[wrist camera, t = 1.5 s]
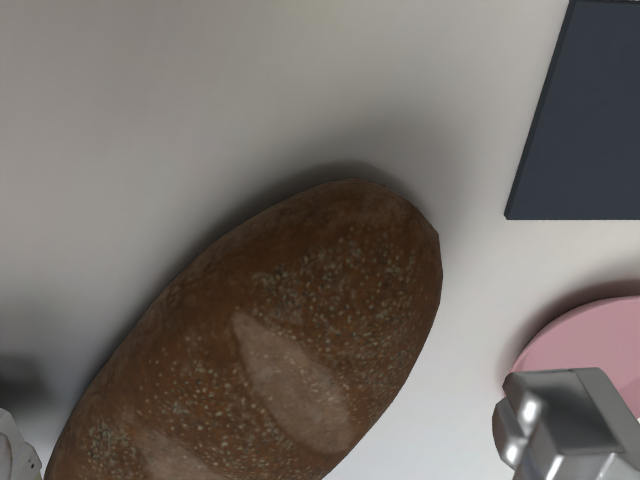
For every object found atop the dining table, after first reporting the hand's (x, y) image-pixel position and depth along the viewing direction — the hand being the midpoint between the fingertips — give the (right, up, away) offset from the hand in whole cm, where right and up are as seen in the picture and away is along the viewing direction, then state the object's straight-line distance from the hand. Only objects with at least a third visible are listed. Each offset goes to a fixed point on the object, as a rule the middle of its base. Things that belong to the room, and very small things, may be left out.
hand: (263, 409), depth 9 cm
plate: (+21, -5, +33) cm, 39 cm away
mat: (+18, +9, +22) cm, 30 cm away
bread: (-6, -6, +30) cm, 31 cm away
